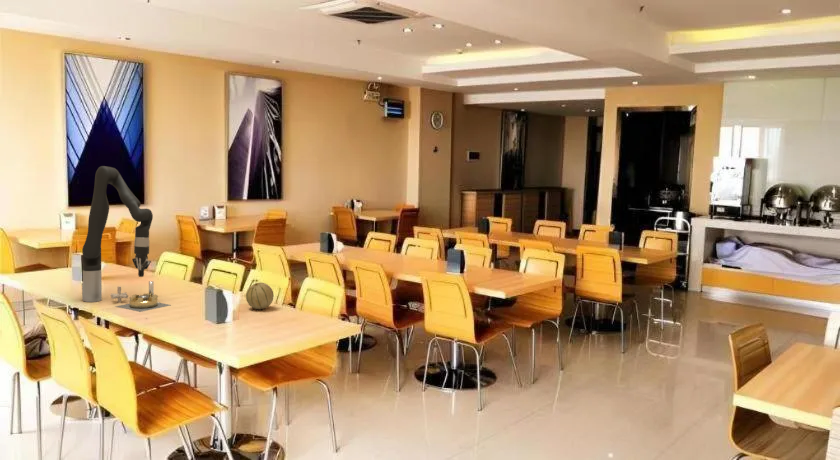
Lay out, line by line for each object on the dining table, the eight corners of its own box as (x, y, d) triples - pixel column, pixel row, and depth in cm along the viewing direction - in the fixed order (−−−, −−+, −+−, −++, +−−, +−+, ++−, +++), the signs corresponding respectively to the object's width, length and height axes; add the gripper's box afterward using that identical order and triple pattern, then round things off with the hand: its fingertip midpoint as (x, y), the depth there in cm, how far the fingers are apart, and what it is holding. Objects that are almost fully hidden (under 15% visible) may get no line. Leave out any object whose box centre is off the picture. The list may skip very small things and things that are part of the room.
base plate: (114, 309, 345) (114, 305, 345) (146, 302, 363) (146, 299, 363) (140, 314, 336) (140, 311, 336) (171, 307, 353) (171, 304, 353)
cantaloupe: (278, 307, 364) (278, 281, 363) (265, 313, 350) (265, 285, 349) (254, 304, 368) (254, 278, 367) (240, 310, 354) (240, 283, 353)
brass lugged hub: (133, 302, 355) (133, 280, 354) (160, 302, 357) (160, 280, 356) (126, 308, 341) (125, 285, 340) (154, 308, 343) (154, 285, 342)
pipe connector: (133, 303, 359) (133, 286, 358) (120, 307, 350) (120, 289, 349) (118, 302, 362) (118, 284, 361) (105, 305, 352) (104, 287, 351)
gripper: (127, 244, 355) (127, 275, 357) (143, 247, 349) (143, 279, 350) (139, 243, 362) (139, 274, 363) (155, 246, 355) (154, 277, 357)
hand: (141, 276), depth 357 cm, fingers closed
